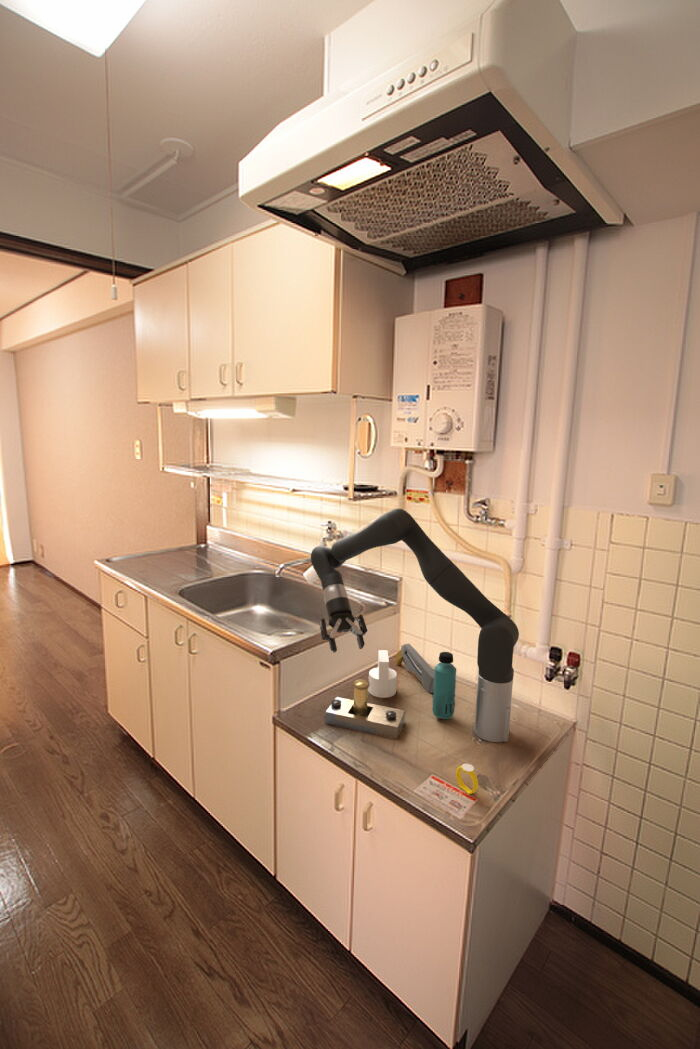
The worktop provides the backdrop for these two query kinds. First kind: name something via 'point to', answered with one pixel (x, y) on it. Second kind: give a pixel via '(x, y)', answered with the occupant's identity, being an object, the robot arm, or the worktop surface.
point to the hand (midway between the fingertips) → (348, 649)
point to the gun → (416, 666)
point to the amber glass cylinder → (360, 697)
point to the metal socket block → (377, 722)
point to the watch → (470, 770)
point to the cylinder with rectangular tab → (382, 677)
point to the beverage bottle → (444, 687)
